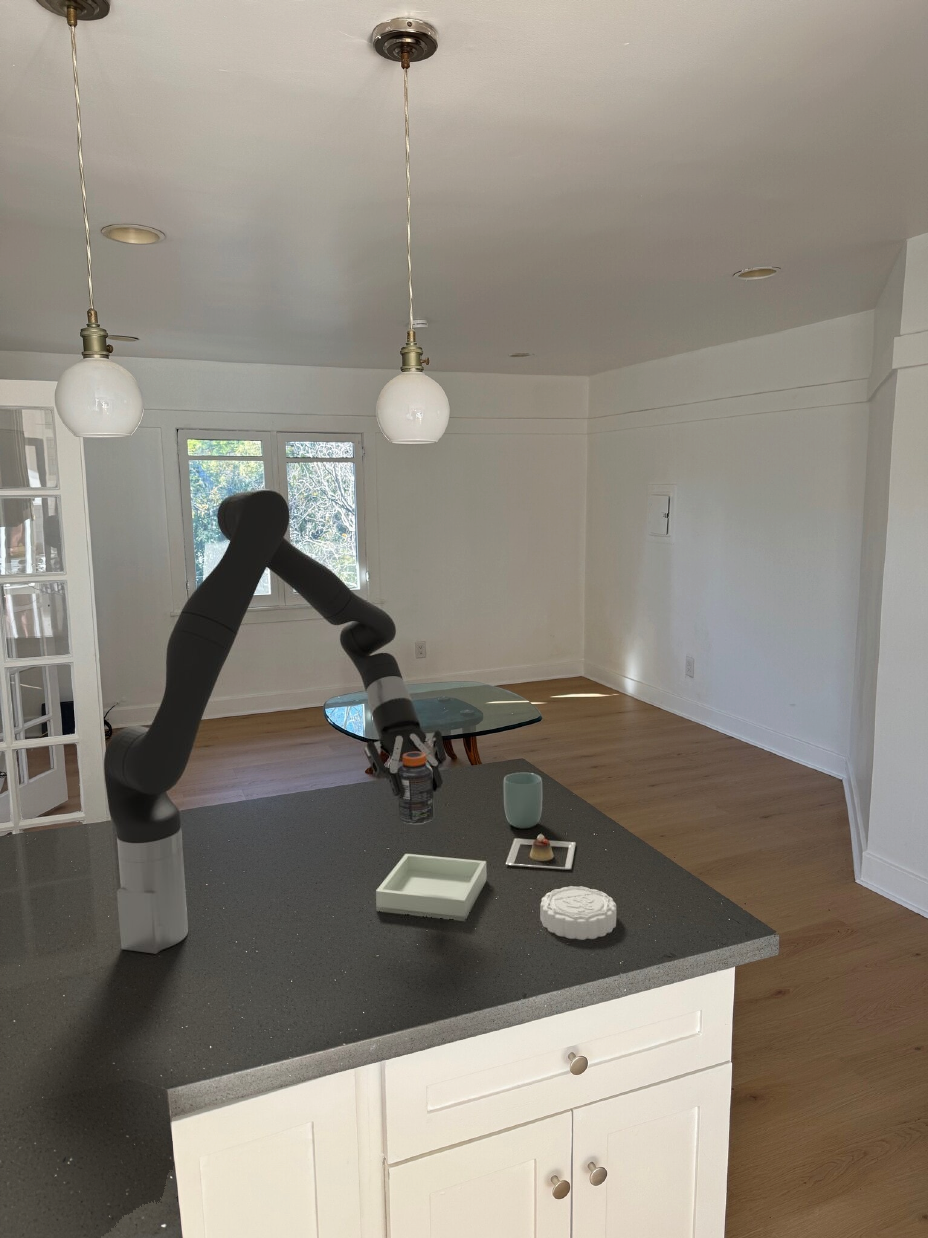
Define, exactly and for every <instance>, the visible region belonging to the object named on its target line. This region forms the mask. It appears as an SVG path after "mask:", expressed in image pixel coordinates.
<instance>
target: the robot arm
mask: <svg viewBox="0 0 928 1238" xmlns="http://www.w3.org/2000/svg"><path fill="white" fill-rule="evenodd" d="M216 518H217V525H218V527H219V530H220V532H221V533H222V535H223V536H224V538H226V539H227V540H228V541H229V543H228V545H227V548H226V549H225V551H224V553H223V556H222V557H221V558H220V561H219V562H218V563H217V565H216V566H215V567H214V568H213V569H212V571H211V572H209V574H208V575H207V576H206V577H205V578H204V580H202V582H201V583H200V584H199V585H198V586H197V588H195V590H194V592H192V594H191V595H190V597H189V598H188V599H187V600H186V603H185V604H184V606H183V607H182V609H181V611H180V614H179V616H178V618H177V621H176V622H175V624H174V627H173V629H172V631H171V633H170V636H169V639H168V642H167V647H166V653H165V654H166V656H165V658H166V659H165V669H166V670H165V687H164V688H165V689H164V693H163V697H162V700H161V702H160V705H159V708H158V710H157V712H156V714H155V716H154V719H153V721H152V723H151V725H150V726H149V727H146V726H140V725H131V726H127V727H125V728H123V729H120V730H119V731H117V732H116V733H115V734H114V735H113V736H112V737H111V739H110V740H109V742H108V744H107V746H106V749H105V751H104V759H103V772H104V781H105V790H106V799H107V805H108V806H107V807H108V810H109V811H108V812H109V815H110V818H111V820H112V822H113V824H114V826H115V830H116V831H115V833H116V842H117V854H118V855H117V857H118V867H119V869H118V870H119V878H120V879H119V881H120V888H119V889H117V891H116V893H117V894H116V895H117V896H116V897H117V907H118V918H119V919H118V921H119V922H118V923H119V933H120V946H121V950H126V951H131V952H132V951H134V952H142V953H147V954H148V953H149V954H158V953H159V952H160V951H162V950H164V949H168V948H170V947H173V946H175V945H176V944H179V943H180V942H182V941H184V939H185V938H186V936H187V935H188V933H189V925H188V911H187V910H188V908H187V898H186V897H187V895H186V894H187V893H186V883H185V882H186V879H185V866H184V853H183V852H184V851H183V836H182V834H183V833H182V820H181V813H180V809H179V808H178V807H177V805H175V804H174V803H173V801H172V800H171V798H170V797H169V795H168V792H169V790H171V789H173V787H174V786H176V784H177V783H178V782H179V780H180V779H181V778H182V776H183V773H184V771H185V770H186V768H187V765H188V763H189V760H190V757H191V753H192V750H193V747H194V744H195V740H196V737H197V734H198V732H199V729H200V725H201V722H202V719H203V716H204V712H205V711H206V708H207V705H208V703H209V700H210V699H211V696H212V693H213V691H214V688H215V685H216V683H217V682H218V678H219V675H220V673H221V671H222V669H223V667H224V664H225V662H226V661H227V658H228V656H229V654H230V653H231V650H232V648H233V644H234V642H235V640H236V638H237V635H238V634H239V631H240V627H241V625H242V623H243V621H244V620H243V619H244V618H245V615H246V613H247V612H248V609H249V607H250V605H251V602H252V600H253V597H254V595H255V592H256V591H257V588H258V585H259V584H260V581H261V579H262V578H263V577H262V576H263V575H264V574H265V571H266V569H268V570H270V571H271V572H273V573H274V574H275V575H277V577H279V578H280V579H281V580H282V581H284V583H286V584H287V585H288V586H290V588H292V589H293V590H294V591H295V592H296V593H298V595H300V596H301V598H303V599H304V600H305V601H306V602H307V603H308V604H309V605H310V606H311V607H312V608H313V609H314V610H315V611H316V612H317V613H318V614H319V615H320V616H321V617H322V618H323V619H325V620H326V622H328V623H329V624H330V625H333V626H340V625H341V626H342V625H344V624H347V625H345V626H344V627H343V628H342V629H341V632H340V634H339V643H340V645H341V648H342V650H343V651H344V653H346V654H347V656H348V657H349V659H350V660H351V662H352V663H353V665H354V666H355V668H356V670H357V671H358V673H359V675H360V677H361V680H362V681H361V682H362V684H363V687H364V690H365V694H366V699H367V704H368V708H369V712H370V714H371V718H372V720H373V723H374V727H375V730H376V733H377V736H378V738H379V740H377V741H374V742H373V741H371V740H370V741H367V743H366V746H365V748H364V754H365V756H366V758H367V760H368V762H369V765H370V767H371V769H372V771H373V773H374V775H375V777H376V778H377V779H382V778H384V779H387V780H388V782H389V785H390V789H391V792H392V794H393V796H394V797H397V800H398V799H400V798H403V796H404V794H405V791H404V788H403V785H402V782H401V779H400V776H399V773H397V771H398V768H399V763H403V762H402V761H403V757H402V756H403V754H405V753H408V752H415V751H417V752H424V753H425V754H426V759H427V761H426V764H427V765H429V766H430V767H431V768H432V775H433V793H437V792H439V791H440V790H441V787H442V785H443V778H442V775H441V773H440V769H441V768H442V767H443V766H444V763H445V762H446V760H447V755H446V751H445V746H444V741H443V736H442V733H441V731H439V730H436V731H434V733H426V732H425V731H424V730H422V728H421V724H420V721H419V717H418V715H417V711H416V709H415V705H414V703H413V701H412V697H411V694H410V692H409V689H408V687H407V685H406V683H405V681H404V679H403V676H402V672H401V670H400V667H399V664H398V661H397V660H396V657H394V656H393V655H392V654H391V653H388V652H379V653H376V652H377V651H378V650H380V649H382V648H384V647H385V646H387V645H389V643H392V641H393V640H394V639H395V637H396V634H397V628H396V624H395V622H394V620H393V618H392V617H391V616H390V615H389V614H388V613H387V612H386V611H384V610H383V609H382V608H380V607H378V606H377V605H375V604H373V603H371V602H368V601H367V600H365V599H364V598H362V597H360V596H358V595H357V594H356V593H355V592H353V591H352V589H350V587H348V585H346V584H345V582H344V581H343V580H341V579H340V577H338V575H337V574H335V572H333V571H332V570H331V569H329V568H328V567H327V566H325V565H324V564H322V563H321V562H319V561H318V560H316V559H314V558H313V557H312V556H309V555H308V554H306V552H305V553H304V552H303V551H302V550H300V549H299V548H297V547H296V546H294V545H293V544H292V543H290V541H288V540H287V539H286V538H285V535H286V533H287V531H288V527H289V524H290V509H289V506H288V503H287V501H286V499H285V497H283V495H282V494H281V493H279V492H277V491H276V490H273V489H269V488H255V489H250V490H245V491H240V492H236V493H233V494H230V495H229V496H227V497H226V498H224V499H223V500H222V502H221V503H220V504H219V507H218V509H217V513H216ZM373 653H374V654H373ZM425 742H427V743H428V745H429V747H431V748H432V752H433V755H432V754H431V751H430V749H428V747H427V746H426V745H425ZM381 750H382V752H383V753H385V754H387V755H388V756H389V758H388V764H387V766H385V763H384V762H383V759H382V757H381V754H380V753H381Z"/></svg>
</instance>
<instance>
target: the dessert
mask: <svg viewBox="0 0 928 1238" xmlns="http://www.w3.org/2000/svg"><path fill="white" fill-rule="evenodd" d="M521 845H526V846H528V845H530V846H531V850H530V852H529V857H530V858H531V859H532V860H534V861H540V862H541V861H542V862H545V861H550V860H552V859H553V858H554V856H555V855H554V853H553V849H552V847H559V848H560V847H561V848H568V850H567V856H566V860H565V865H564V866H562V867H561V866H546V865H535V864H520V863H515V861H516V858H517V855H518V852H519V849H520V847H521ZM575 850H576V842H575V841H561V840H560V841H559V840H548V839H546V838H545V835H543V834H542V833H540V834H538V835H537V838H536V839H529V838H528V839H527V838H514V839H513V842H512V844H511V847H510V850H509V852H508V856H507V859H506V862H505V865H507V866H510V867H524V868H525V867H526V868H538V869H552V870H562V871H563V870H567V871H568V870H572V866H573V861H574V855H575Z"/></svg>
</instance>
